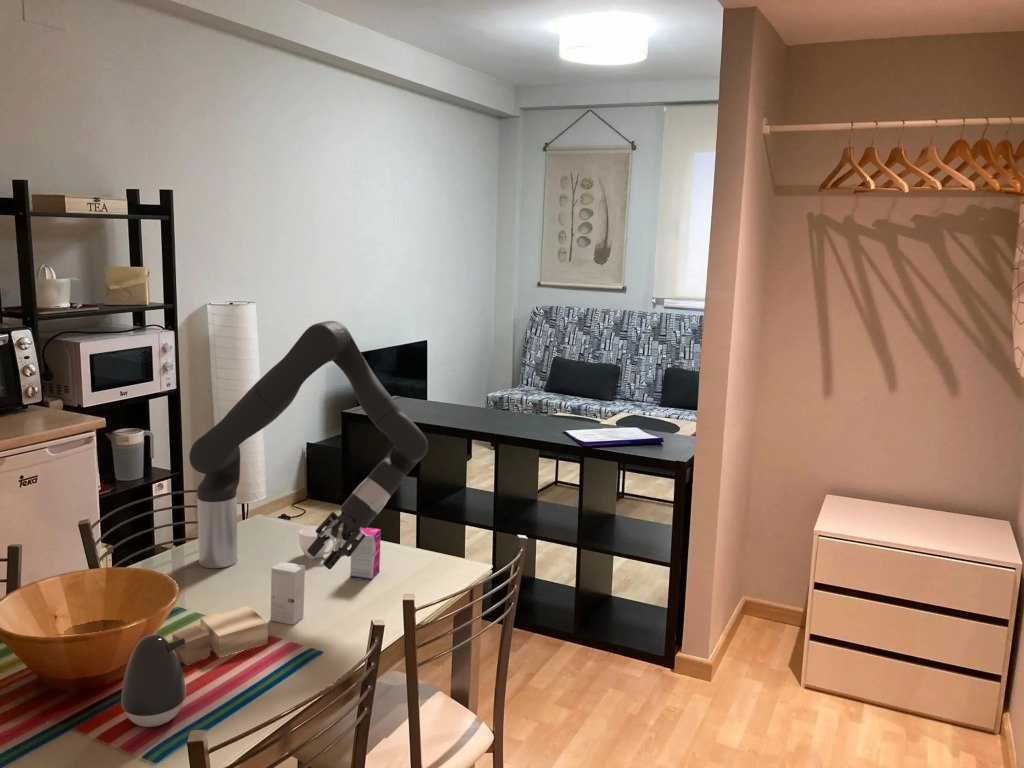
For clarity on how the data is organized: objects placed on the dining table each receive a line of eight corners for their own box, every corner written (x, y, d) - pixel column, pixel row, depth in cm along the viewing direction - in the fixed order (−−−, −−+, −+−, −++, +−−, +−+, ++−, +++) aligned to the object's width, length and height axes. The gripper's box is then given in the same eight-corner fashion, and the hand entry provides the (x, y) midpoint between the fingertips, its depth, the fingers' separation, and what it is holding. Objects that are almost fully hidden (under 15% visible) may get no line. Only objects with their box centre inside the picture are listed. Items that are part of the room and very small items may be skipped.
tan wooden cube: (173, 657, 164) (172, 634, 163) (196, 648, 168) (195, 625, 167) (186, 666, 161) (186, 642, 160) (210, 657, 165) (209, 633, 164)
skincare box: (269, 620, 181) (269, 568, 179) (281, 612, 185) (280, 560, 183) (294, 625, 179) (294, 572, 177) (305, 617, 183) (305, 565, 181)
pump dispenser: (182, 732, 140) (180, 648, 137) (115, 738, 138) (111, 652, 135) (192, 699, 150) (190, 620, 147) (130, 704, 147) (126, 624, 145)
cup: (307, 548, 222) (307, 524, 221) (342, 553, 220) (342, 528, 219) (294, 559, 215) (293, 534, 214) (330, 564, 213) (330, 538, 212)
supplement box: (372, 580, 204) (372, 536, 202) (349, 578, 205) (349, 533, 203) (380, 571, 209) (381, 528, 207) (358, 569, 210) (358, 525, 208)
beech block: (201, 640, 172) (200, 617, 171) (247, 627, 178) (247, 605, 177) (219, 659, 164) (218, 636, 163) (267, 645, 171) (267, 622, 170)
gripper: (341, 484, 192) (293, 541, 188) (369, 501, 181) (319, 562, 176) (362, 503, 196) (316, 558, 192) (391, 521, 185) (342, 580, 180)
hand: (318, 560), depth 184 cm, fingers open, 8 cm apart
